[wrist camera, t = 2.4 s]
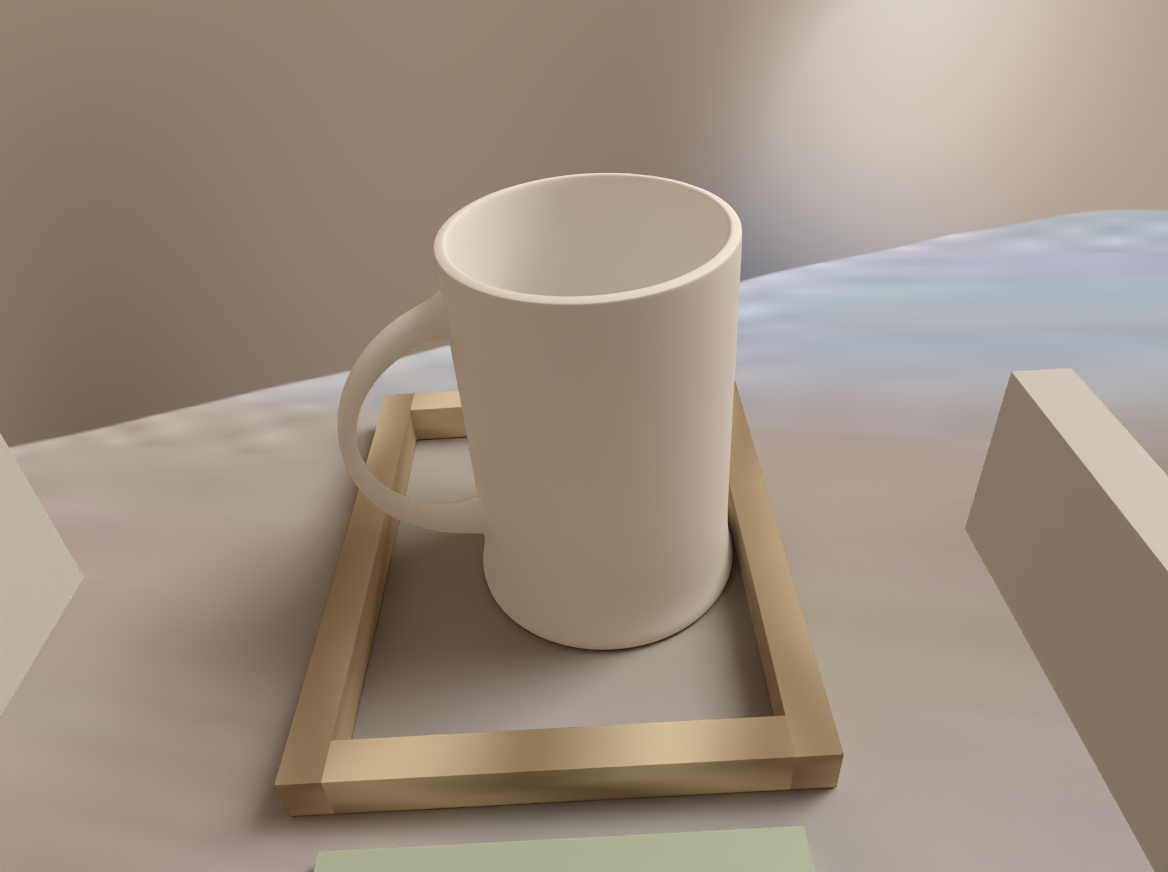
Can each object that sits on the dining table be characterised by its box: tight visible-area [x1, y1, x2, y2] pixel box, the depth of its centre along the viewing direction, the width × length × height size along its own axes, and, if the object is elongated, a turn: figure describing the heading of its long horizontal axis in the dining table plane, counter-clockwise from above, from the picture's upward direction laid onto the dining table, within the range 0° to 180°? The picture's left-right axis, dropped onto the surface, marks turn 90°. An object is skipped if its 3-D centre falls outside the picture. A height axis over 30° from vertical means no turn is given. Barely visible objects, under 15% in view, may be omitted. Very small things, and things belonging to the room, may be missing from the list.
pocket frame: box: [274, 379, 844, 816], centre depth 29 cm, size 14×17×2 cm
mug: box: [338, 173, 742, 650], centre depth 26 cm, size 12×8×12 cm
